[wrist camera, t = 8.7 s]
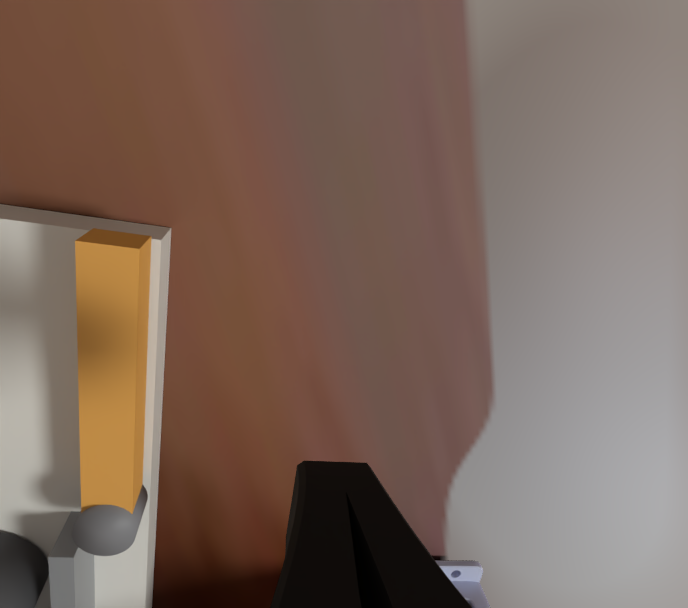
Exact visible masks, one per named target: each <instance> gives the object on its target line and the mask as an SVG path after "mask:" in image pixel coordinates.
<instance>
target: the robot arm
mask: <svg viewBox="0 0 688 608" xmlns="http://www.w3.org/2000/svg"><path fill="white" fill-rule="evenodd" d="M482 574H483V569H482V567H481V565H480V563H479V562H477V561H444V560H434V559H433V557H432V556H431V555H430V553H429V552H428V551H427V549H426V548H425V546H424V545H423V544H422V542H421V541H420V540H419V538H418V537H417V536H416V534H415V533H414V531H413V530H412V529H411V527H410V526H409V524H408V523H407V522H406V520H405V519H404V517H403V516H402V514H401V513H400V511H399V510H398V508H397V507H396V505H395V504H394V503H393V501H392V500H391V498H390V497H389V495H388V494H387V492H386V491H385V489H384V487H383V486H382V484H381V483H380V481H379V480H378V478H377V477H376V475H375V474H374V472H373V471H372V469H371V468H370V466H369V465H368V464H367V463H354V462H325V461H303V462H302V463H300V464H299V465H297V471H296V477H295V483H294V490H293V496H292V502H291V509H290V515H289V522H288V528H287V534H286V554H285V560H284V564H283V567H282V571H281V574H280V577H279V580H278V584H277V587H276V590H275V593H274V597H273V600H272V603H271V606H270V608H490V605H489V603H488V601H487V598H486V596H485V594H484V591H483V589H482V587H481V585H480V583H479V582H480V579H481V576H482Z"/></svg>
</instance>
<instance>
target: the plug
mask: <svg viewBox="0 0 688 608" xmlns="http://www.w3.org/2000/svg"><path fill="white" fill-rule="evenodd" d="M48 576H49V565H48V561H47V558H46V557H45V555H44V554H43V552H42V551H41V550H40V549H39V548H38V547H36V546H35V545H34V544H32V543H31V542H29V541H27V540H25V539H23V538H21V537H18V536H15V535H12V534H8V533H4V532H0V608H35V605H36V603H37V601H38V599H39V596H40V594H41V592H42V590H43V587H44V585H45V583H46V581H47V578H48Z"/></svg>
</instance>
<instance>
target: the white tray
mask: <svg viewBox="0 0 688 608" xmlns="http://www.w3.org/2000/svg"><path fill="white" fill-rule="evenodd" d="M93 228H95V229H103V230H110V231H118V232H125V233H132V234H140V235H147V236H152V237H151V265H150V292H149V320H148V348H147V375H146V403H145V431H144V458H143V486H144V487H145V488H146V490H147V494H148V499H147V503H146V506H145V509H144V512H143V515H142V519H141V522H140V525H139V528H138V531H137V534H136V538H135V541H134V543H133V544H132V545H131V547H130V548H128V549H127V550H126V551H124V552H122V553H120V554H117V555H112V556H97V555H93V554H89V553H87V552H85V551H83V550H82V549H80V548H79V547H78V546H77V545H76V544H75V542H74V541H73V538H72V529H73V526H74V524H75V522H76V520H77V518H78V516H79V513H80V511H81V479H80V435H79V391H78V348H77V304H76V260H75V240H77V239H78V238H80V237H81V236H83V235H84V234H86V233H87V232H89V231H90V230H92V229H93ZM170 244H171V228H168V227H161V226H154V225H147V224H139V223H132V222H125V221H118V220H111V219H104V218H96V217H89V216H82V215H75V214H68V213H60V212H53V211H46V210H39V209H32V208H25V207H17V206H10V205H3V204H0V532H4V533H8V534H12V535H15V536H18V537H21V538H23V539H25V540H27V541H29V542H31V543H32V544H34V545H35V546H36V547H38V548H39V549H40V550H41V551H42V552H43V554H44V555H45V557H46V558H47V561H48V565H49V576H48V578H47V581H46V583H45V585H44V587H43V590H42V592H41V594H40V596H39V599H38V601H37V603H36V605H35V608H152V596H153V577H154V557H155V538H156V518H157V499H158V479H159V459H160V440H161V420H162V401H163V381H164V362H165V342H166V322H167V303H168V283H169V264H170Z"/></svg>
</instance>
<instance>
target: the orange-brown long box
mask: <svg viewBox="0 0 688 608" xmlns="http://www.w3.org/2000/svg"><path fill="white" fill-rule="evenodd" d="M151 237H152V236H147V235H140V234H132V233H125V232H118V231H110V230H103V229H95V228H93V229H92V230H90V231H89V232H87V233H86V234H84V235H83V236H81V237H80V238H78V239H77V240H75V260H76V304H77V348H78V391H79V435H80V479H81V511H80V513H79V516H78V518H77V520H76V522H75V524H74V526H73V529H72V538H73V541H74V542H75V544H76V545H77V546H78V547H79V548H80V549H82V550H83V551H85V552H87V553H89V554H93V555H97V556H112V555H117V554H120V553H122V552H124V551H126V550H127V549H128V548H130V547H131V545H132V544H133V543H134V541H135V538H136V534H137V531H138V528H139V525H140V522H141V519H142V515H143V512H144V509H145V506H146V503H147V499H148V494H147V490H146V488H145V487H144V486H143V458H144V431H145V403H146V375H147V348H148V320H149V292H150V265H151Z"/></svg>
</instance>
